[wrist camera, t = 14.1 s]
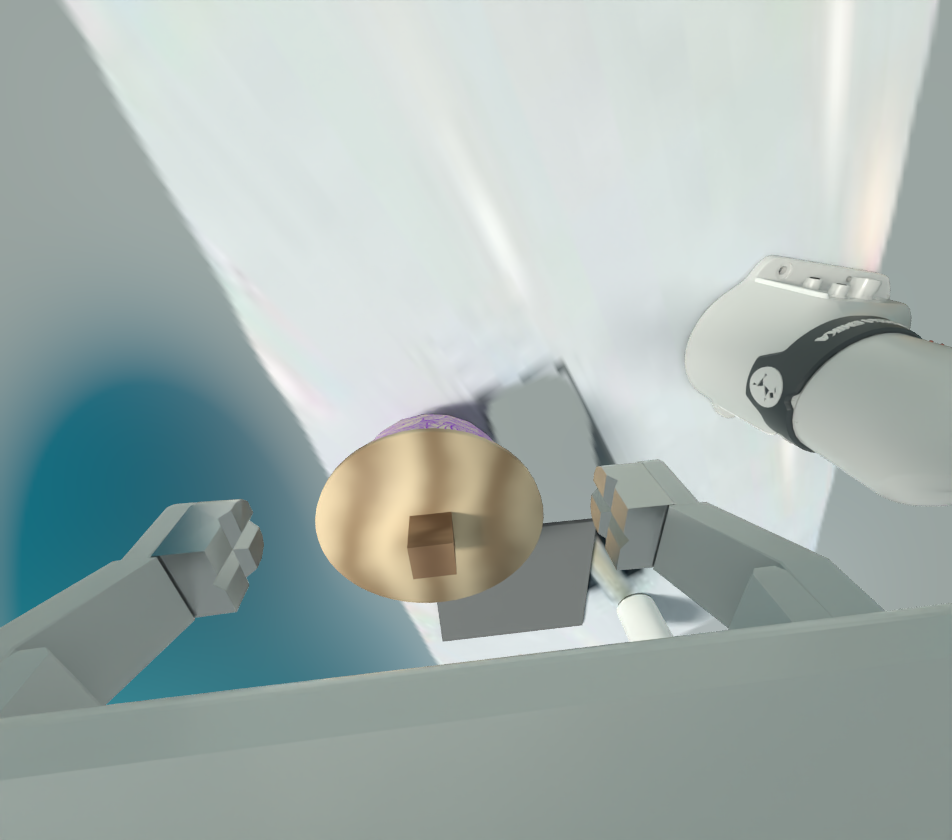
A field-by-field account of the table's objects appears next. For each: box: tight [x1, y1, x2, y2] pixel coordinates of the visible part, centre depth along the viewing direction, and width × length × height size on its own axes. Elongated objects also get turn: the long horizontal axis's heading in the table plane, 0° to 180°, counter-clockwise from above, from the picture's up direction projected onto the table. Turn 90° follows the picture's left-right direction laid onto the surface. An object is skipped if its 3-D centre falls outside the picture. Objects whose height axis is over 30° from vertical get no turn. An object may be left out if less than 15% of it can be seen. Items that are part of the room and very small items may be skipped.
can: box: [617, 594, 673, 642], centre depth 63 cm, size 6×6×12 cm
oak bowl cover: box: [315, 428, 543, 603], centre depth 38 cm, size 22×22×5 cm
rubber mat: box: [437, 519, 596, 641], centre depth 62 cm, size 24×24×1 cm
